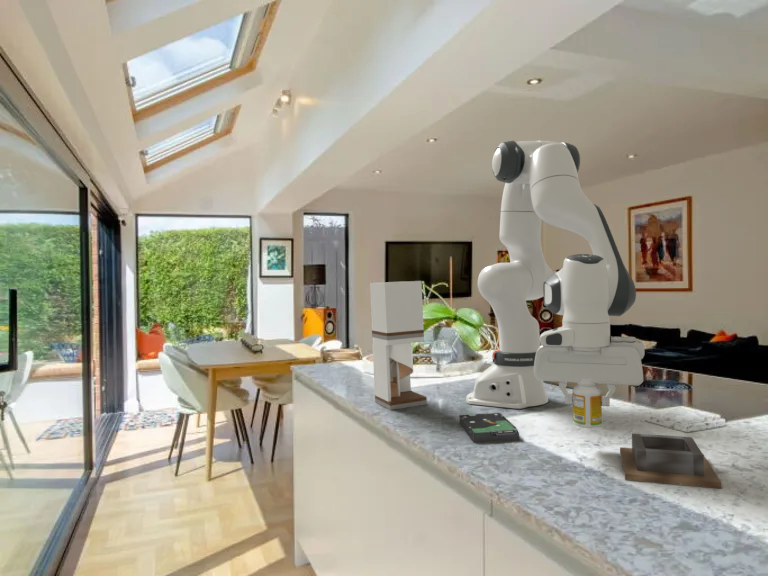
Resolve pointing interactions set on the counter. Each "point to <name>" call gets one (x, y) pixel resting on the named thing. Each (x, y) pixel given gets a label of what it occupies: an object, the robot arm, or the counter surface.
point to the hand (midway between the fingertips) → (587, 404)
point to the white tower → (396, 341)
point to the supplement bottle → (587, 404)
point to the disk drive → (488, 428)
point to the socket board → (667, 461)
